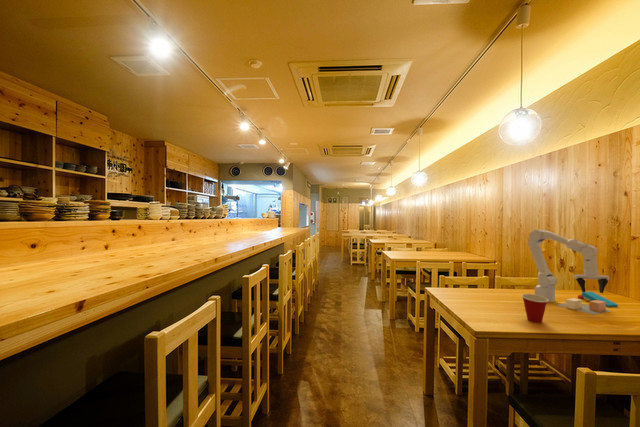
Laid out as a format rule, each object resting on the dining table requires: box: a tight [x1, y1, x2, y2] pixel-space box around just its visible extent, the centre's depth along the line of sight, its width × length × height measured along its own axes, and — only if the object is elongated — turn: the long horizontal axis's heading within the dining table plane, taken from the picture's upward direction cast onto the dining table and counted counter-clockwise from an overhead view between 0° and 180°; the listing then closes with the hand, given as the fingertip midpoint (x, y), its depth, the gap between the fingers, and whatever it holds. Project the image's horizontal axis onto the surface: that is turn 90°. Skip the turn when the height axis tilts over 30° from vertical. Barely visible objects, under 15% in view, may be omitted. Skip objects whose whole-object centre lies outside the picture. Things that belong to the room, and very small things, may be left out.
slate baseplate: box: [556, 302, 611, 316], centre depth 161 cm, size 18×17×1 cm
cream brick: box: [565, 297, 583, 310], centre depth 161 cm, size 4×7×4 cm, turn 112°
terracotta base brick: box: [588, 300, 607, 312], centre depth 158 cm, size 4×7×4 cm, turn 112°
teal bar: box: [577, 291, 619, 308], centre depth 172 cm, size 7×7×18 cm
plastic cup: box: [521, 293, 549, 324], centre depth 143 cm, size 11×11×12 cm
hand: (592, 292), depth 158 cm, fingers open, 7 cm apart
